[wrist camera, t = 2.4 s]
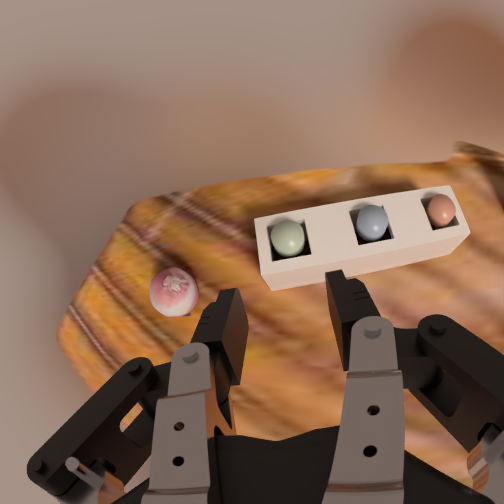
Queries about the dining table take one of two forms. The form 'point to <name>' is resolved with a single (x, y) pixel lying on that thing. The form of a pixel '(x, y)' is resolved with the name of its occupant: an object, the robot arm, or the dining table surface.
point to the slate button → (371, 223)
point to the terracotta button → (440, 210)
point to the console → (345, 242)
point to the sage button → (288, 238)
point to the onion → (173, 292)
